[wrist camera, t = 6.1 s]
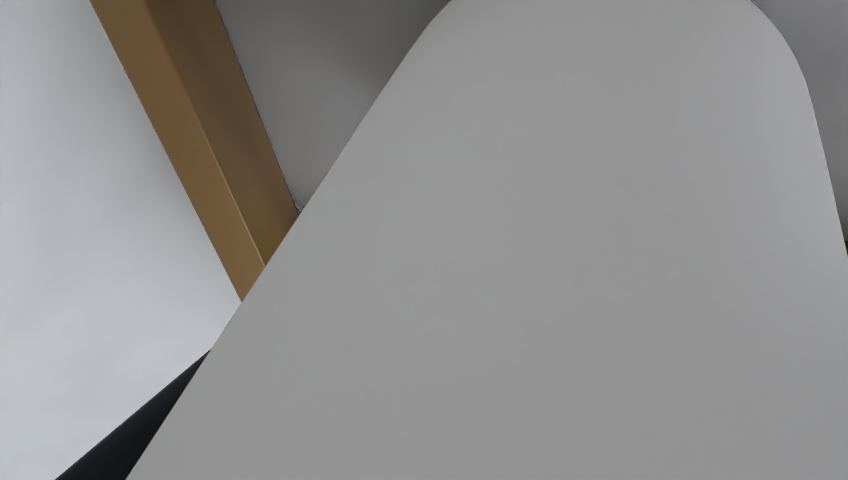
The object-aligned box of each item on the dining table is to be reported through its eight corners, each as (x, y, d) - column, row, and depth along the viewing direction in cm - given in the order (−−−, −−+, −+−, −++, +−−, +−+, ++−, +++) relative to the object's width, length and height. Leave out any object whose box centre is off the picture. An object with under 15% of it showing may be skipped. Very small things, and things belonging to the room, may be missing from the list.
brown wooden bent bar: (1493, -444, 7) (1711, -458, 6) (1113, 275, 13) (1173, 356, 12) (101, -149, 12) (30, -115, 11) (289, 282, 18) (260, 342, 17)
